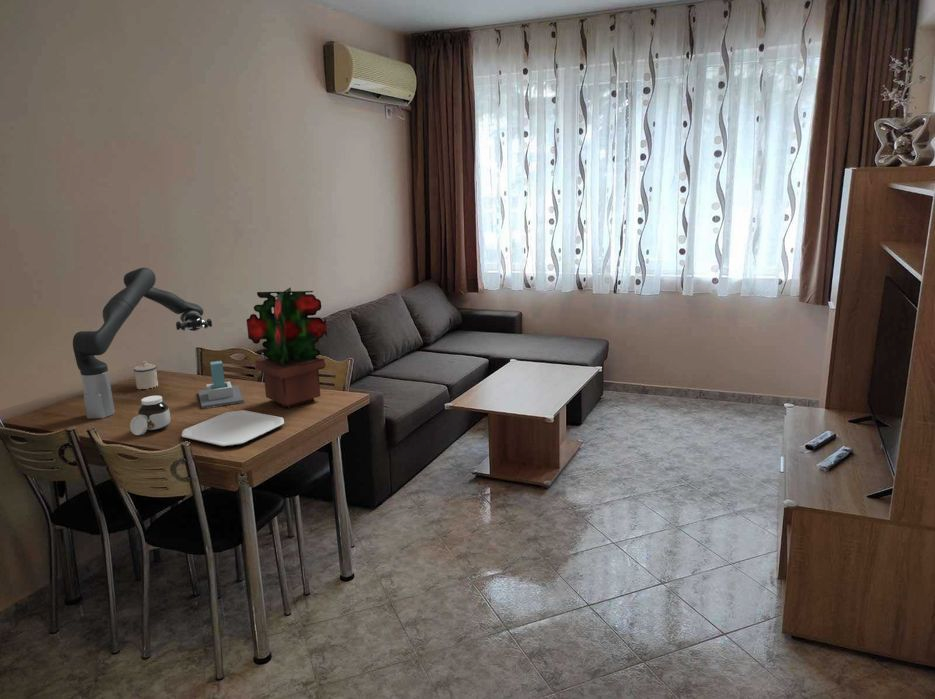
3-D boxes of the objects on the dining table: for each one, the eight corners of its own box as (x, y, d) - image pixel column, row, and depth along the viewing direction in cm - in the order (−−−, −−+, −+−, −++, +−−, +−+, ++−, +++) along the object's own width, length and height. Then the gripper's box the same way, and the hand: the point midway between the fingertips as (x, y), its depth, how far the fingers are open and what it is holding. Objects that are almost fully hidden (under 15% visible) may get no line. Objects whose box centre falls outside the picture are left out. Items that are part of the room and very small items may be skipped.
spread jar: (174, 424, 248) (169, 394, 245) (162, 435, 237) (158, 404, 235) (140, 425, 248) (136, 395, 245) (127, 437, 237) (122, 406, 234)
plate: (173, 439, 234) (172, 433, 234) (235, 413, 259) (235, 408, 259) (233, 453, 221) (232, 447, 221) (293, 424, 246) (292, 419, 245)
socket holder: (243, 402, 271) (242, 390, 269) (201, 408, 264) (200, 396, 263) (237, 387, 290) (236, 376, 289) (198, 393, 284) (196, 381, 282)
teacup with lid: (163, 385, 296) (159, 359, 293) (145, 391, 289) (141, 365, 286) (145, 382, 302) (141, 357, 299) (127, 387, 294) (123, 362, 291)
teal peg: (226, 395, 276) (222, 363, 272) (215, 397, 274) (210, 364, 271) (225, 392, 280) (221, 360, 276) (214, 394, 278) (210, 362, 274)
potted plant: (332, 400, 271) (323, 290, 259) (282, 414, 256) (271, 298, 244) (303, 389, 286) (294, 285, 275) (255, 401, 271) (243, 292, 260)
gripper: (174, 313, 293) (175, 320, 278) (209, 311, 298) (211, 316, 284) (176, 330, 294) (177, 337, 280) (211, 327, 300) (213, 334, 285)
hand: (194, 327), depth 282 cm, fingers open, 8 cm apart
